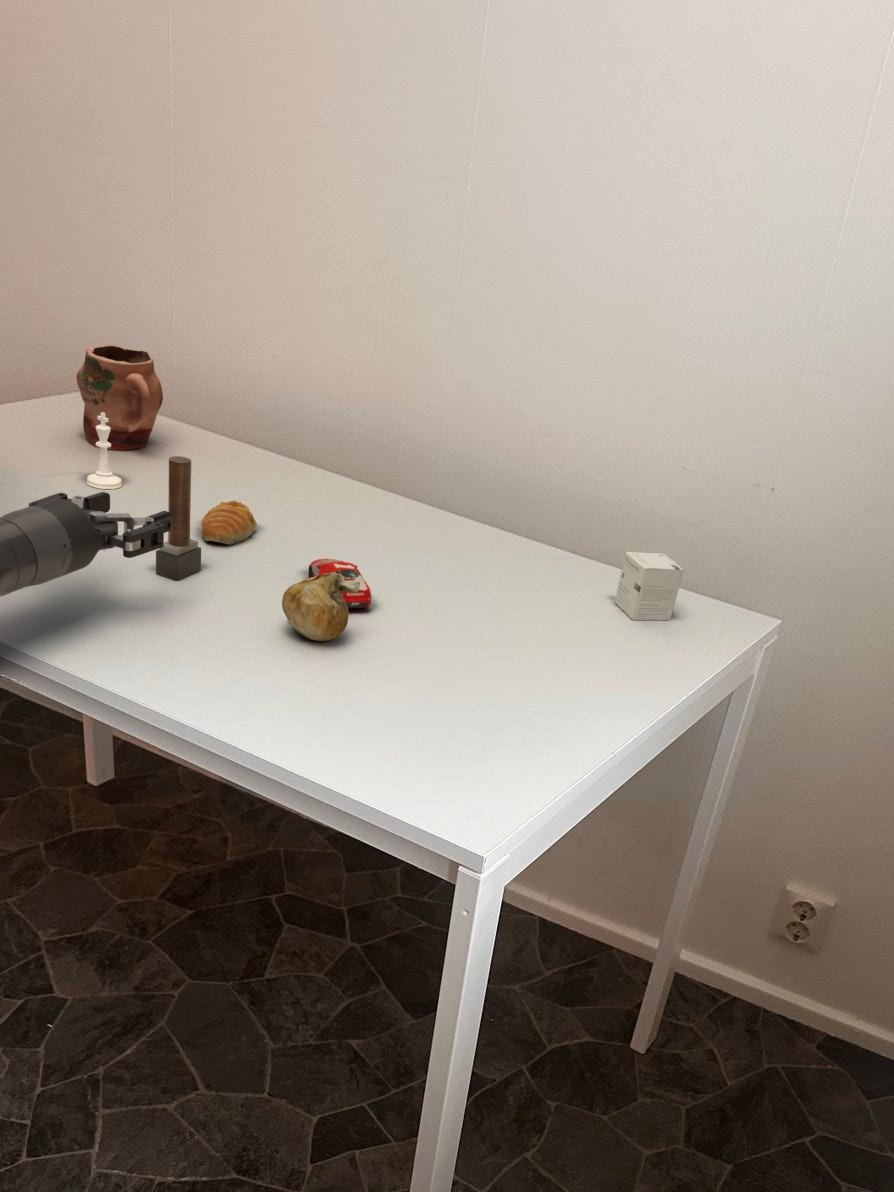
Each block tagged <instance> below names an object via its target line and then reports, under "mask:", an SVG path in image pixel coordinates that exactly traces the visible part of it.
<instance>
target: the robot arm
mask: <svg viewBox="0 0 894 1192" xmlns="http://www.w3.org/2000/svg"><path fill="white" fill-rule="evenodd" d="M110 510H111V494H110V493H108V492H106V491H100V492H97V493H94V494H90V495H87V496H81V495H74V496H73V497H72V498H69V497H68V494H67V493H64V492H57V493H55V494H52V495H51V494H50V495H49V496H45V497H42V498H40V499H37V500H34V501H31V502H28V506H27V507H23V508H20V509H18V510H14V511H10V512H8V513H6V514H4V515H2V516H0V597H3V596H7V595H9V594H12V593H14V592H17V591H20V590H22V589H25V588H29V587H34V586H38V585H42V584H46V583H48V582H51V581H53V580H56V579H59V578H61V577H64V576H66V575H69V574H71V573H75V572H77V571H80V570H82V569H85V568H86V567H88V566H89V565H90V564H91V563H92V562H93V560H94V559H95V557H96V556H97V554H98V553H99V552H100V551H108V550H109V549H115V548H119V549H122V556H123V557H124V558H128V559H131V558H135V557H138V556H141V555H144V554H147V553H150V552H153V551H157V550H159V548H162V547H164V543H165V538H164V537H165V534H166V533H168V531H171V530H172V517H171V513H170V512H168V510H163V511H159V512H156V513H154V514H151V515H148V516H146V517H133V516H132V515H131V514H130V513H128V512H125V513H123V512H122V513H121V512H120V513H119V512H118V513H115V512H114V513H109V511H110ZM120 522H121V523H123V533H122V535H120V534H119V523H120ZM136 526H139V527H137V528H135V527H136Z"/></svg>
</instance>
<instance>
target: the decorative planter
mask: <svg viewBox="0 0 894 1192" xmlns="http://www.w3.org/2000/svg"><path fill="white" fill-rule="evenodd" d="M84 355H85V356H84V361H83V363H82V365H81V367H80V368H79V370H77V372H76V377H75V378H76V383H77V387H78V390H79V393H80V397H81V400H82V401H83V404H84V405H83V406H84V408H83V417H82V421H83V422H82V428H83V432H84V436H85V438H86V440H87V441H88V442H89V444H92V445H93V446H95V447H98V446H96V442H98V441H100V439H99V437H98V433H97V431H96V426H97V425H100V424H101V420H98V419H97V416H101V413H102V412H103V413H105V418H108V419H109V422H105V425H107V426H109V427H110V428H111V430H110V433H109V436H108V439H107V441H108V442H109V443H111V447H108V448H107V450H133V449H138V448H143V447H145V446H146V445H148V444H149V439H150V436H151V433H152V431H153V428H154V425H155V423H156V420H157V417H158V413H159V411H160V409H161V407H162V404H163V402H164V401H163V400H164V393H163V387H162V384H161V381H160V379H159V377H158V375H157V373H156V371H155V363H154V359H153V357H152V355H150V353H149V352H147V351H144V350H140V349H133V348H125V347H121V346H118V345H113V344H103V345H98V346H92V347H88V348H87V349H86V350H85V354H84ZM98 448H99V447H98Z"/></svg>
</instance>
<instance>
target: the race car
mask: <svg viewBox="0 0 894 1192" xmlns="http://www.w3.org/2000/svg"><path fill="white" fill-rule="evenodd" d="M331 572H333V573H335V572H336V573H338V574H340V575H342V577H341V578H342V579H343V580H345V581H348V580H349V581H359V582H360V586H359V591H358V592H356V593H355V592H344V591H342V592H341V595H342V597H343V599H344V600H345V602H346V604H347V607H348V609H362V608H363V609H364V608H365V609H366V608H370V607H371V603H372V593H371V588H370V585H369V584H368V583H367V581H366V579H365V578H364V577H363V575H362V573H361V571H360V570H359V569H358V565H356V564H353V562H346V561H343V560H341V559H340V560H339V559H334V558H319V559H315V560H313V561H311V562H310V564H309V565H308V578H312V577H316V576H318V575H319V573H320V576H319V577H318V578H321V577H322V574H324V573H326V574H327V573H331Z"/></svg>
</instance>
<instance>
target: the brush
mask: <svg viewBox="0 0 894 1192" xmlns="http://www.w3.org/2000/svg"><path fill="white" fill-rule="evenodd" d="M167 499H168V501H167V502H168V503H167V506H168V508H167V512H170V513H171V517H172V530H171V531H168V532H167V541H164V547H162V548H159V549H156V550H155V574H156V575H158V576H160V577H161V576H162V577H164V578H167V579H171V580H174V581H176V582H178V581H180V580H183V579H185V578H187V577H189V576H191V575H194V574H196V573H199V572H201V570H202V547H200V546H199V541H198V540H195V539H192V538H191V505H192V504H191V503H192V502H191V501H192V500H191V499H192V459H191V458H189V457H186V456H182V455H181V456H179V455H175V456H169V457H168V498H167Z"/></svg>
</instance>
